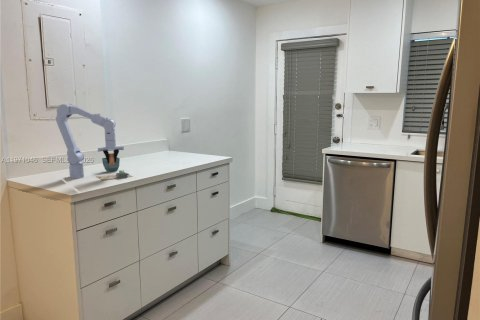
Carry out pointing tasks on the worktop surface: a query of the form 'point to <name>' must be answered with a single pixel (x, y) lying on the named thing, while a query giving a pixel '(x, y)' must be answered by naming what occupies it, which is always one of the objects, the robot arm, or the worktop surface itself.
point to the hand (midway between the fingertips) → (111, 162)
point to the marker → (111, 159)
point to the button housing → (121, 175)
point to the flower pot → (111, 168)
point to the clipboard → (110, 177)
